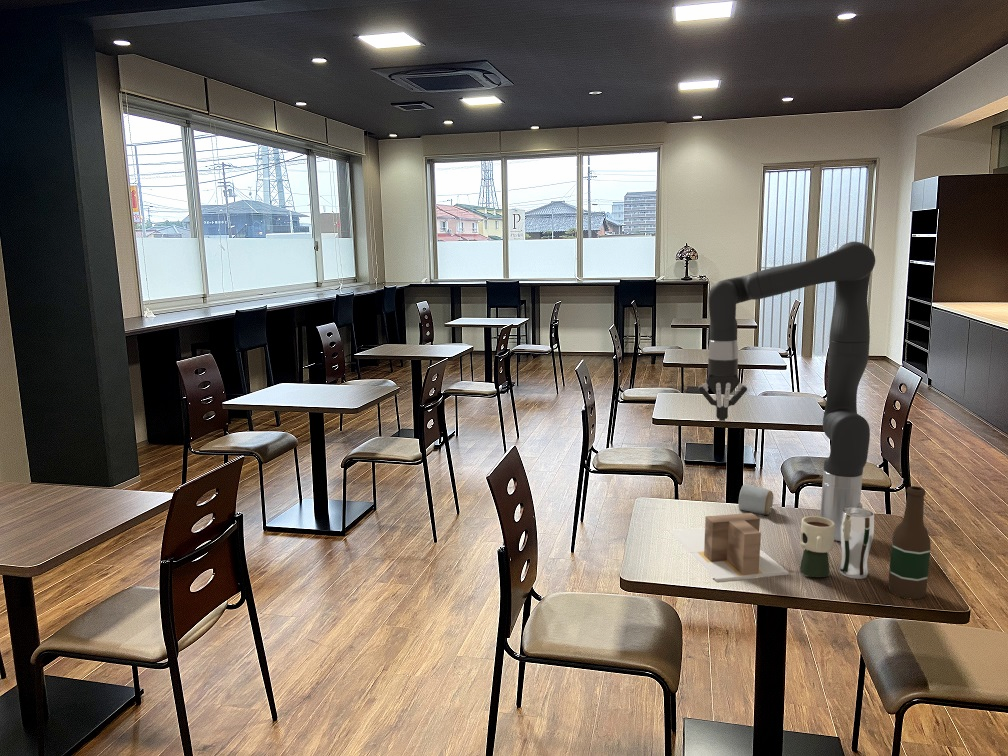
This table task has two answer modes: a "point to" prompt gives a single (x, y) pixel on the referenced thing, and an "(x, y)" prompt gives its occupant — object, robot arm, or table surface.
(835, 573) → the table surface
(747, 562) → the t block
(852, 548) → the beer glass
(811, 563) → the character mug
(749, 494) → the grey cylinder
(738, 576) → the board
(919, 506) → the beer bottle
